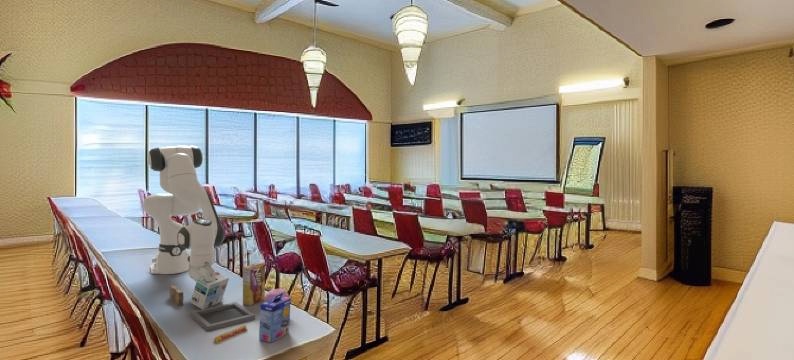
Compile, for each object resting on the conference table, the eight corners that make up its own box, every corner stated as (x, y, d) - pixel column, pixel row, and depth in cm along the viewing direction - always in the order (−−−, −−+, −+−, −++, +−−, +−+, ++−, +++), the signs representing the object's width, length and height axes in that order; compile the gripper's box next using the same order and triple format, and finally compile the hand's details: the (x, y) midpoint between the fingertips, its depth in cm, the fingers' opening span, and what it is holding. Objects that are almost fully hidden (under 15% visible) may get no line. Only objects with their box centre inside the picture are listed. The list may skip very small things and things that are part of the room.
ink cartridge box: (272, 343, 132) (273, 299, 131) (258, 340, 134) (259, 296, 133) (290, 332, 141) (291, 290, 140) (277, 329, 143) (278, 288, 142)
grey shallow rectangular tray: (190, 316, 151) (190, 312, 151) (236, 305, 163) (236, 302, 163) (207, 331, 139) (207, 326, 139) (255, 318, 151) (255, 314, 151)
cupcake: (292, 312, 158) (293, 287, 157) (280, 321, 150) (281, 294, 149) (272, 309, 160) (272, 284, 160) (259, 317, 152) (259, 291, 151)
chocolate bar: (212, 343, 131) (212, 336, 131) (242, 330, 142) (243, 323, 142) (217, 345, 130) (217, 338, 130) (248, 331, 141) (248, 325, 141)
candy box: (256, 297, 173) (257, 261, 173) (265, 299, 172) (266, 263, 171) (241, 304, 165) (242, 266, 164) (250, 305, 164) (251, 268, 163)
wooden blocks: (169, 297, 169) (169, 285, 169) (212, 289, 181) (212, 278, 181) (178, 305, 161) (179, 293, 160) (222, 296, 173) (223, 285, 172)
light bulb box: (202, 310, 157) (210, 285, 155) (189, 302, 159) (196, 277, 157) (222, 301, 167) (229, 277, 166) (209, 294, 169) (217, 270, 167)
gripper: (220, 264, 160) (219, 298, 161) (201, 254, 175) (201, 286, 175) (203, 266, 156) (202, 302, 156) (185, 256, 170) (185, 288, 171)
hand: (201, 293), depth 166 cm, fingers closed
